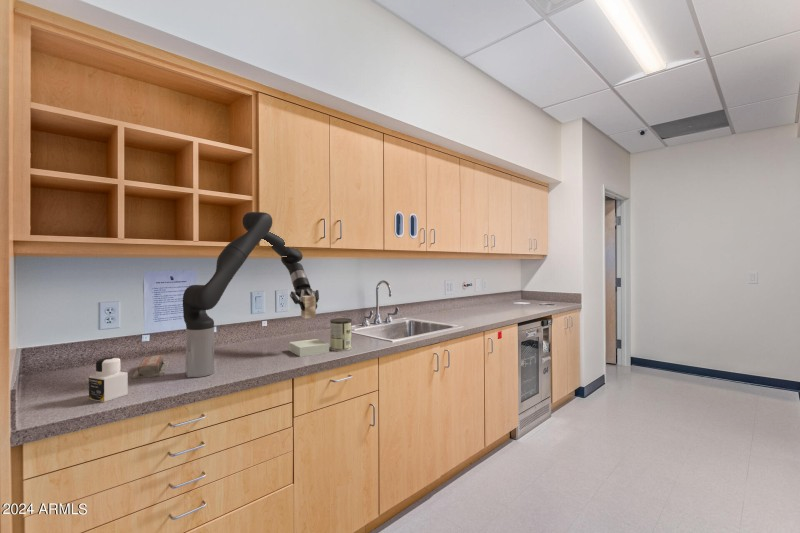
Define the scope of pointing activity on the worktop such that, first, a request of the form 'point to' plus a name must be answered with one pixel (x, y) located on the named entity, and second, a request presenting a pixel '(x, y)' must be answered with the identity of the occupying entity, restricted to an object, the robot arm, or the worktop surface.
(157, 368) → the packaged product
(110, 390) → the medicine bottle
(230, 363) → the worktop surface
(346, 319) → the coffee can
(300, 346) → the sage plinth
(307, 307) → the birch block
